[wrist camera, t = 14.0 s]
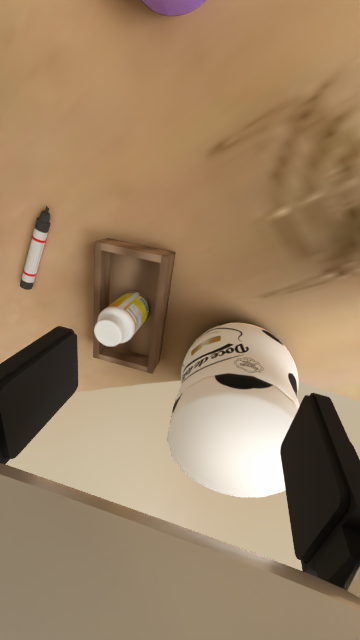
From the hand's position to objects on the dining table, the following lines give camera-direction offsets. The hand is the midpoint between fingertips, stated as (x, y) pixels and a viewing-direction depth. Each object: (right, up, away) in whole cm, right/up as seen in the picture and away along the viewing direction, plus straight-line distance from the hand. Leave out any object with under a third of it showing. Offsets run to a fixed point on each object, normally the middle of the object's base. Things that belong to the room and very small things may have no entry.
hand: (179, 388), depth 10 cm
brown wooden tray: (-8, +5, +33) cm, 35 cm away
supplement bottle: (-7, +5, +33) cm, 34 cm away
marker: (-24, +15, +34) cm, 44 cm away
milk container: (+10, -4, +34) cm, 35 cm away
